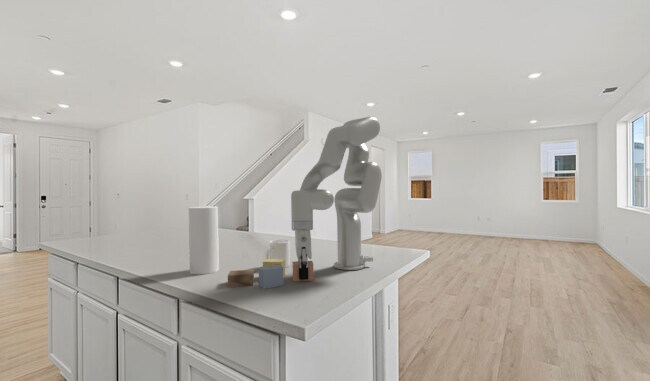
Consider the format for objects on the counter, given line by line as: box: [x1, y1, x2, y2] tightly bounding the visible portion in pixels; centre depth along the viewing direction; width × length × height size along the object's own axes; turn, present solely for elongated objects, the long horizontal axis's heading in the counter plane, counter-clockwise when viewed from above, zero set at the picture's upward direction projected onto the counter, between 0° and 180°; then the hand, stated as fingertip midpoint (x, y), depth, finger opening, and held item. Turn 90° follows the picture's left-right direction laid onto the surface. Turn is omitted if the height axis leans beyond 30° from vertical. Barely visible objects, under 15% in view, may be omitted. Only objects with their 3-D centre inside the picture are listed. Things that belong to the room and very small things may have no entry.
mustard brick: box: [262, 258, 286, 278], centre depth 118 cm, size 7×4×6 cm, turn 79°
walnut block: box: [227, 269, 255, 288], centre depth 110 cm, size 8×6×4 cm
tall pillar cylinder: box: [188, 205, 220, 275], centre depth 127 cm, size 11×11×25 cm
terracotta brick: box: [292, 260, 314, 282], centre depth 114 cm, size 7×4×6 cm, turn 99°
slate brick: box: [258, 265, 284, 290], centre depth 108 cm, size 7×4×6 cm, turn 124°
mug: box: [264, 239, 291, 269], centre depth 132 cm, size 12×8×10 cm
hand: (302, 276), depth 114 cm, fingers open, 5 cm apart
